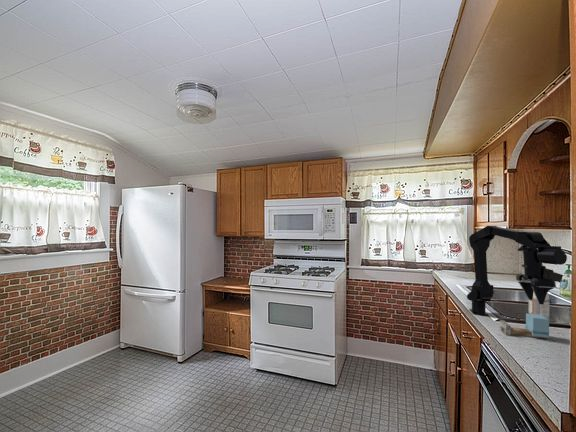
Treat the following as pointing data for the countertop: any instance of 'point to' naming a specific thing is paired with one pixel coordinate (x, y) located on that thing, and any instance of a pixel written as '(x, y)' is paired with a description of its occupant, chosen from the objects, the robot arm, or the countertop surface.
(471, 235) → the robot arm
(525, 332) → the rail
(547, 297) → the bath foam
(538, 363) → the countertop surface
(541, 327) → the block
